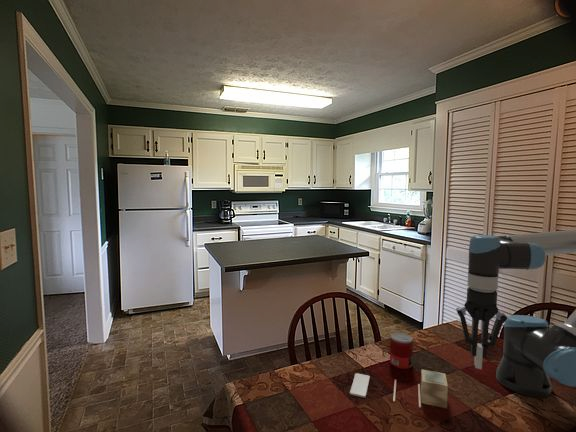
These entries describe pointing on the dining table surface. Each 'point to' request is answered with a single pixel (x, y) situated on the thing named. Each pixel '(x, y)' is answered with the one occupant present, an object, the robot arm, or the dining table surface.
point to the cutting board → (362, 383)
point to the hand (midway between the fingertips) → (477, 366)
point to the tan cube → (434, 388)
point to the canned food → (401, 350)
